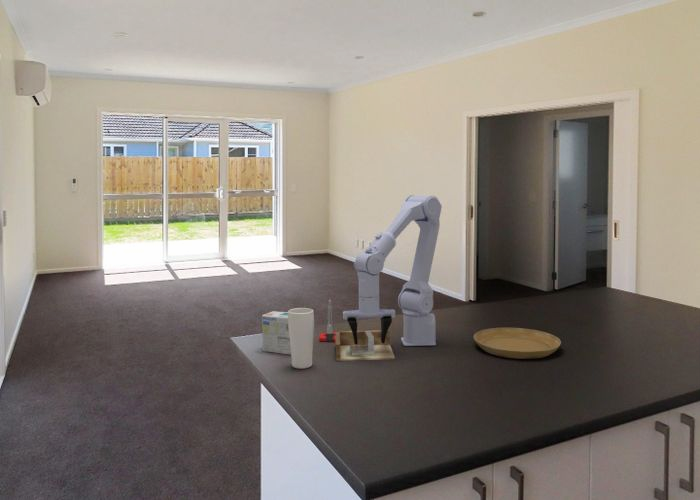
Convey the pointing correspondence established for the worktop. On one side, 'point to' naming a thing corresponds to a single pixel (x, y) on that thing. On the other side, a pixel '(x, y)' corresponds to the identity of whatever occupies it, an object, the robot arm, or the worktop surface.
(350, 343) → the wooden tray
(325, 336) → the tow hook
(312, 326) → the drinking glass
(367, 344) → the bracket
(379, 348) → the board
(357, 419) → the worktop surface
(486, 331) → the plant saucer
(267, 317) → the light bulb box
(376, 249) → the robot arm
